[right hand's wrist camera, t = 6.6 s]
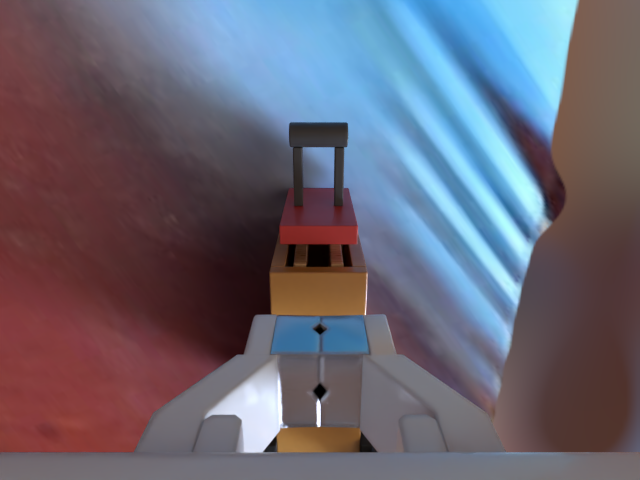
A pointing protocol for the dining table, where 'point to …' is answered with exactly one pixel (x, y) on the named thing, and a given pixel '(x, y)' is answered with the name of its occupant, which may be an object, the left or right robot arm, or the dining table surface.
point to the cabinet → (320, 300)
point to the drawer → (318, 201)
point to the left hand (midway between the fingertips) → (318, 396)
